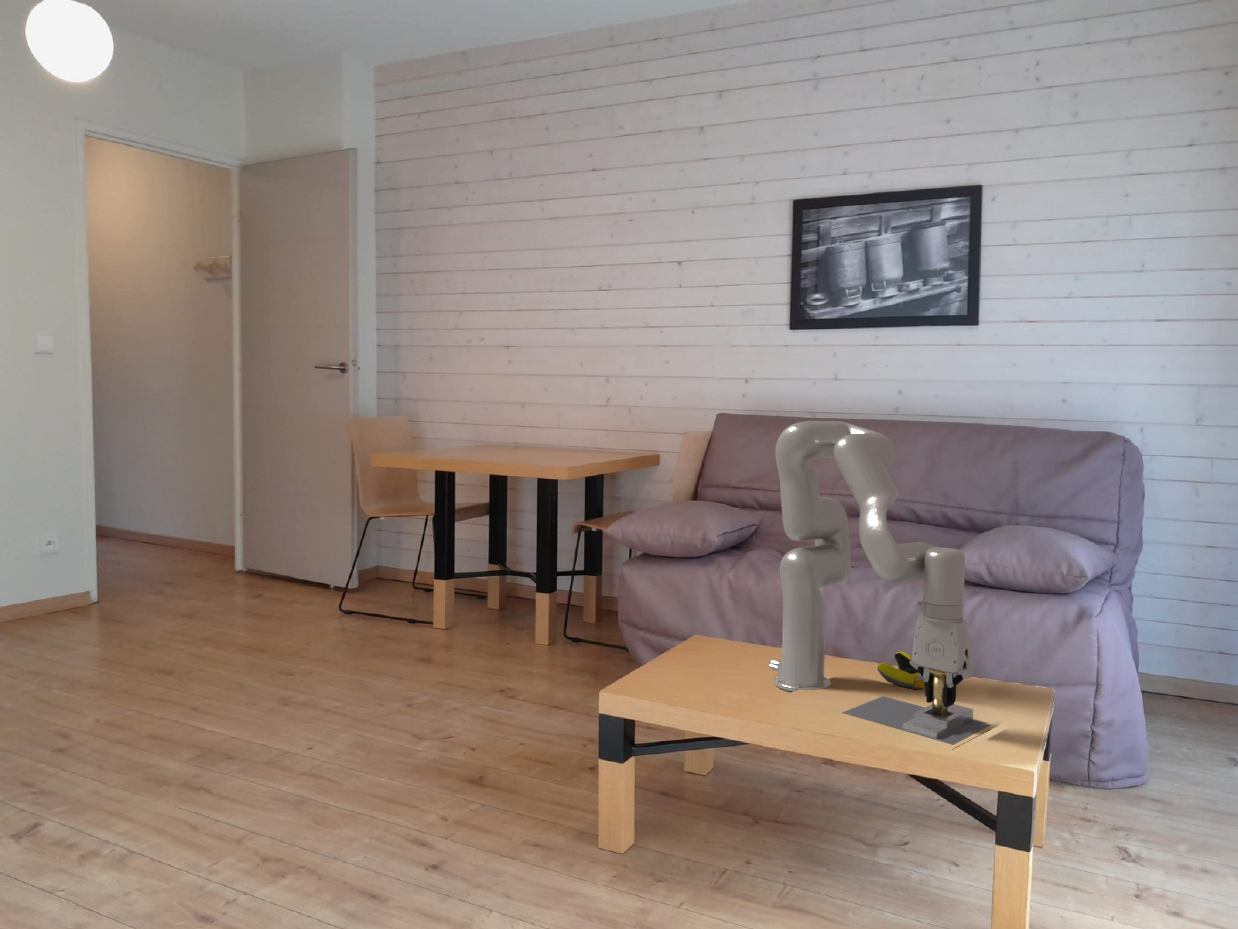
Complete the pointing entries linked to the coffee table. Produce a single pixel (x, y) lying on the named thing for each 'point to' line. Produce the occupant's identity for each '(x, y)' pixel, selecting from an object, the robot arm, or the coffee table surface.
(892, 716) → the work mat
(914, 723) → the grey slotted housing block
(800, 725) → the coffee table surface
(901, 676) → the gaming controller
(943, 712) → the pin
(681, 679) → the coffee table surface
